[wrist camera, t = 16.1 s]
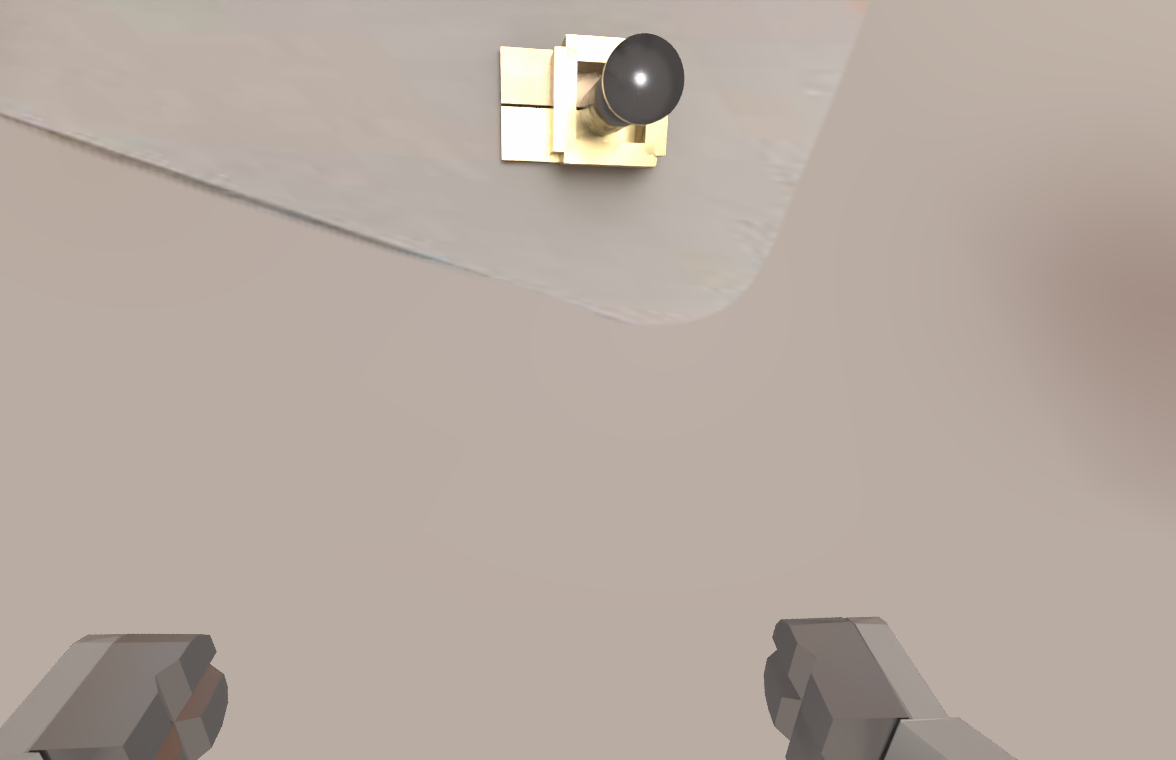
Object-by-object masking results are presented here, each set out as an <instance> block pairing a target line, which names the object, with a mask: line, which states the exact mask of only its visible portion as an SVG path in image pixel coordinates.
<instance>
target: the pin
mask: <svg viewBox="0 0 1176 760" xmlns="http://www.w3.org/2000/svg"><path fill="white" fill-rule="evenodd" d="M683 87H684V70H683V65H682V62H681V59H680V57H679V55H678V53H677V52H676V50H675V49H674V48H673V46H672V45H671V44H670V43H668V42H667V41H666V40H664V39H663V38H661V37H659V36H656V35H653V34H647V33H642V34H636V35H633V36H630V37H628V38H626V39H625V40H623V41H622V42H621V43H619V44H618V45H617V46H616V48H615V49H614V50H613V51H612V52H611V54H610V55H609V57H608V59H607V61H606V63H605V66H604V68H603V73H602V76H601V77H600V79H599V80H598V81H597V82H596V83H595V84H594V85H593V86H592V88H591V89H590V90H589V91H588V92H587V93H586V94H585V96H584V97H583V100H582V102H581V107H580V114H581V119H582V121H583V123H584V125H585V126H586V128H587V129H588V130H589V131H590V132H592V133H594V134H596V135H600V136H606V135H610V134H613V133H615V132H617V131H619V130H621V129H623V128H625V127H627V126H629V125H631V124H633V125H648V124H652V123H654V122H657V121H659V120H661V119H663V118H664V117H666V116H667V115H668V114H669V113H671V111H672V110H673V109H674V108H675V106H676V105H677V103H678V101H679V100H680V97H681V95H682V91H683Z"/></svg>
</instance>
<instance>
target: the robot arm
mask: <svg viewBox="0 0 1176 760" xmlns="http://www.w3.org/2000/svg"><path fill="white" fill-rule="evenodd" d="M773 640H774V643H775V645H776V648H777V650H776V651H775V652H774V653H773V654H772V655H771V656H770V657H768V658H767V662H766V666H765V671H764V686H765V696H766V701H767V705H768V710H769V712H770V715H771V718H772V721H773V724H774V726H775V727H776V728H777V729H778V730H779V731H780V732H781V733H782V734H783V735H784V736H785V737H787V738H788V739H789V740H790V743H789V746H788V750H787V753H786V760H1017V759H1016V758H1015V757H1013V756H1012V755H1010V754H1009V753H1008V752H1006V751H1005V750H1003V749H1002V748H1001V747H999V746H998V745H996V744H995V743H994V742H992V741H991V740H990V739H988V738H987V737H986V736H984V735H983V734H981V733H980V732H979V731H977V730H976V729H974V728H973V727H972V726H970V725H969V724H968V723H966V722H965V721H963V720H962V719H961V718H949V717H948V715H947V714H946V712H945V711H944V709H943V708H942V706H941V705H940V703H939V702H938V700H937V699H936V697H935V696H934V694H933V693H932V691H931V690H930V688H929V686H928V685H927V683H926V682H925V681H924V679H923V677H922V676H921V674H920V673H919V671H918V670H917V668H916V667H915V665H914V664H913V662H912V661H911V659H910V658H909V656H908V655H907V653H906V651H905V650H904V648H903V647H902V645H901V644H900V642H899V641H898V639H897V638H896V636H895V635H894V633H893V632H892V630H891V629H890V627H889V626H888V624H887V623H886V622H885V621H884V620H883V619H881V618H880V617H854V618H853V617H851V618H842V617H835V618H809V619H782V620H780V621H779V622H778V623H777V624H776V626H775V630H774V633H773ZM215 654H216V649H215V647H214V644H213V642H212V639H211V637H210V635H202V634H126V635H125V634H113V635H112V634H109V635H87V636H85V637H83V638H82V639H80V640H78V641H77V642H75V643H73V644H72V645H71V646H70V648H69V649H68V650H67V651H66V652H65V653H64V655H63V656H62V657H61V658H60V659H59V660H58V662H57V663H56V664H55V665H54V666H53V667H52V669H51V670H50V671H49V672H48V673H47V674H46V675H45V677H44V678H43V679H42V680H41V681H40V683H39V684H38V685H37V686H36V687H35V688H34V689H33V691H32V692H31V693H30V694H29V695H28V696H27V698H26V699H25V700H24V701H23V702H22V704H21V705H20V706H19V707H18V708H17V709H16V710H15V712H14V713H13V714H12V715H11V716H10V718H9V719H8V720H7V721H6V722H5V723H4V724H3V725H2V727H1V728H0V760H197V759H198V758H200V757H201V756H202V755H203V754H204V753H205V752H207V751H208V750H209V749H210V748H212V746H213V744H214V741H215V739H216V737H217V735H218V733H219V731H220V729H221V727H222V724H223V720H224V716H225V712H226V708H227V704H228V687H227V683H226V680H225V676H224V674H223V673H222V672H220V671H219V670H218V669H216V668H215V667H213V666H212V665H211V664H210V662H211V661H212V659H213V657H214V655H215Z"/></svg>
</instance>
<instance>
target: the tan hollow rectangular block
mask: <svg viewBox="0 0 1176 760" xmlns="http://www.w3.org/2000/svg"><path fill="white" fill-rule="evenodd" d="M625 39H626V38H612V37H598V36H583V35H568V34H566V36H565V39H564V41H563V44H562V46H561V47H554V50H547V49H531V48H516V47H501V105H512V106H532V107H550V109H546V108H526V107H506V106H501V122H502V160H506V161H532V162H558V163H559V165H573V166H600V167H627V168H647V167H654V166H656V163H657V157H661V156H665V152H666V137H667V122H668V115H667V116H666V117H664V118H663V119H661V120H659V121H657V122H654V123H652V124H648V125H633V124H631V125H629V126H627V127H625V128H623V129H621V130H619V131H617V132H615V133H613V134H610V135H606V136H600V135H596V134H594V133H592V132H590V131H589V130H588V129H587V128H586V126H585V125H584V123H583V121H582V119H581V114H580V110H576V109H580V107H581V102H582V100H583V97H584V96H585V94H586V93H587V92H588V91H589V90H590V89H591V88H592V86H593V85H594V84H595V83H596V82H597V81H598V80H599V79H600V77H601V76H602V73H603V68H604V66H605V63H606V61H607V59H608V57H609V55H610V54H611V52H612V51H613V50H614V49H615V48H616V46H617V45H618V44H619V43H621V42H622V41H623V40H625Z"/></svg>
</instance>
